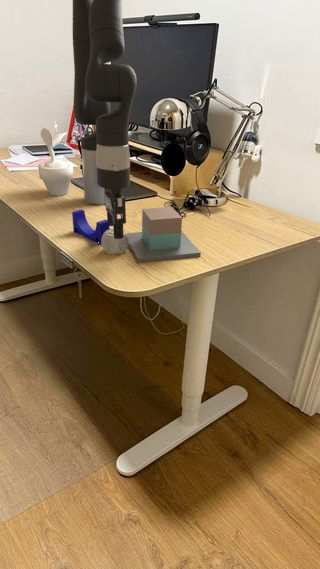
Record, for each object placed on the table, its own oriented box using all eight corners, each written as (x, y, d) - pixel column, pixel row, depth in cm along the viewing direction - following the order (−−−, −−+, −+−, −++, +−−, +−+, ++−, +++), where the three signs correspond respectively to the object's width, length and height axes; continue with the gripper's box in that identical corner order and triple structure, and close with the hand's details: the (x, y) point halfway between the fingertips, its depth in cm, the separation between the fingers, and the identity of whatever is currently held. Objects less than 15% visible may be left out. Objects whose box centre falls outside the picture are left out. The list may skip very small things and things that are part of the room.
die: (101, 251, 100) (100, 232, 98) (114, 244, 104) (113, 226, 101) (116, 256, 98) (116, 237, 95) (129, 249, 101) (129, 231, 99)
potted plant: (56, 200, 133) (48, 120, 120) (34, 193, 139) (24, 116, 126) (84, 192, 142) (79, 117, 129) (62, 186, 148) (55, 113, 135)
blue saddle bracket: (114, 241, 106) (113, 219, 103) (101, 245, 103) (100, 223, 100) (86, 228, 113) (85, 208, 110) (73, 232, 110) (72, 211, 107)
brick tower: (124, 236, 108) (123, 204, 104) (179, 232, 112) (181, 201, 108) (138, 262, 95) (138, 227, 91) (200, 256, 99) (203, 222, 95)
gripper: (92, 158, 95) (95, 222, 103) (101, 172, 83) (104, 244, 91) (123, 157, 97) (124, 220, 105) (136, 171, 85) (136, 241, 93)
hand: (115, 231), depth 98 cm, fingers open, 8 cm apart
